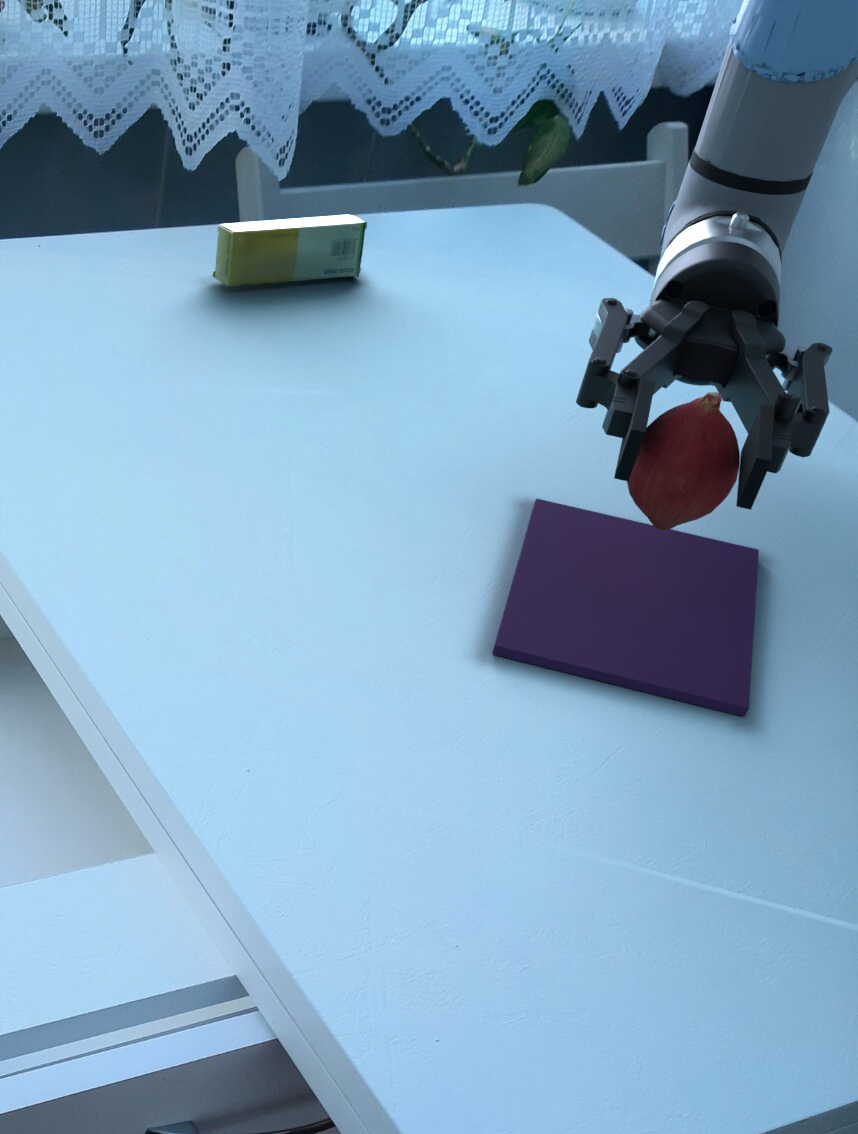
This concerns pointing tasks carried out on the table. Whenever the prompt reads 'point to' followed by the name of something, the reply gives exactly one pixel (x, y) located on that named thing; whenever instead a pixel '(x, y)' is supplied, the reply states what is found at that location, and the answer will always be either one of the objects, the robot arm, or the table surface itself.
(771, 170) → the robot arm
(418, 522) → the table surface
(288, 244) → the medication box
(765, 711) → the table surface
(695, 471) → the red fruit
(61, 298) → the table surface
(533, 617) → the mat
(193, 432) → the table surface
